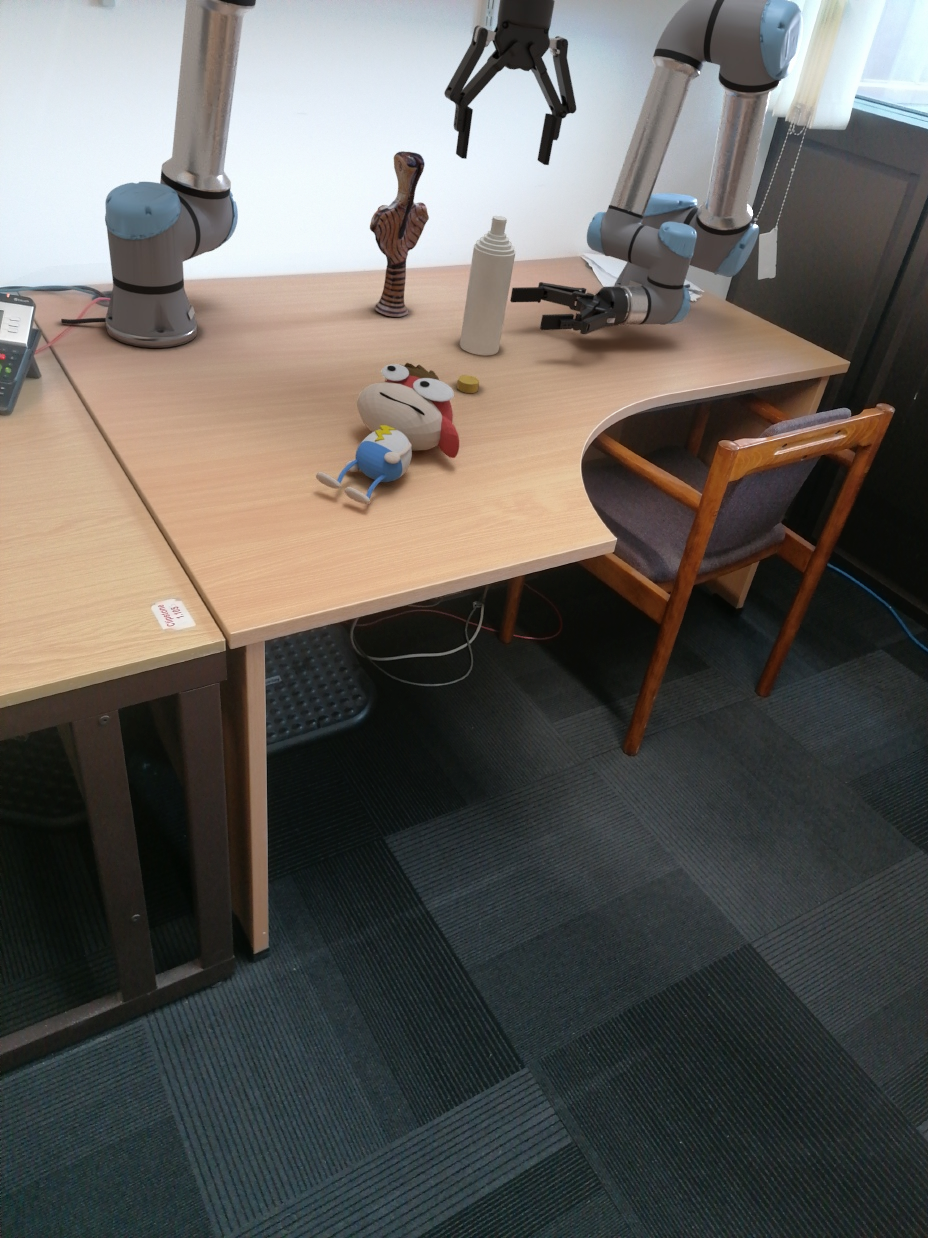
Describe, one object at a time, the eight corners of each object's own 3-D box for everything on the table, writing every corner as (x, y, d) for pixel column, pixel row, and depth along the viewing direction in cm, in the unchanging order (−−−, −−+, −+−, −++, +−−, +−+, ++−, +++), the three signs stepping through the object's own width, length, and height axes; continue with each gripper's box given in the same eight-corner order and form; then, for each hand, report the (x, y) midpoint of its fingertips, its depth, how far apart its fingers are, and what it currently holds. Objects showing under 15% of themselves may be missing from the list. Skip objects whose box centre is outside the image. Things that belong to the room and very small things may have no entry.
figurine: (401, 297, 189) (416, 141, 170) (429, 309, 186) (448, 152, 167) (355, 312, 178) (365, 148, 160) (384, 324, 175) (398, 159, 157)
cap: (479, 386, 160) (481, 377, 159) (475, 395, 157) (477, 386, 156) (459, 382, 160) (460, 373, 159) (455, 390, 157) (456, 381, 156)
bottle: (503, 355, 172) (526, 225, 157) (466, 355, 170) (486, 223, 155) (491, 339, 178) (512, 212, 163) (454, 338, 175) (472, 209, 160)
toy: (278, 428, 121) (396, 343, 140) (277, 485, 128) (389, 398, 148) (391, 486, 117) (497, 391, 136) (384, 542, 124) (485, 444, 143)
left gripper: (452, -20, 115) (433, 159, 128) (620, 6, 124) (585, 171, 137) (434, -26, 120) (417, 146, 133) (596, -2, 129) (565, 158, 142)
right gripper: (646, 349, 174) (551, 353, 166) (586, 300, 191) (497, 302, 183) (656, 311, 169) (559, 314, 162) (594, 265, 186) (503, 265, 179)
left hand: (502, 159), depth 135 cm, fingers open, 13 cm apart
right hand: (526, 308), depth 172 cm, fingers open, 13 cm apart
